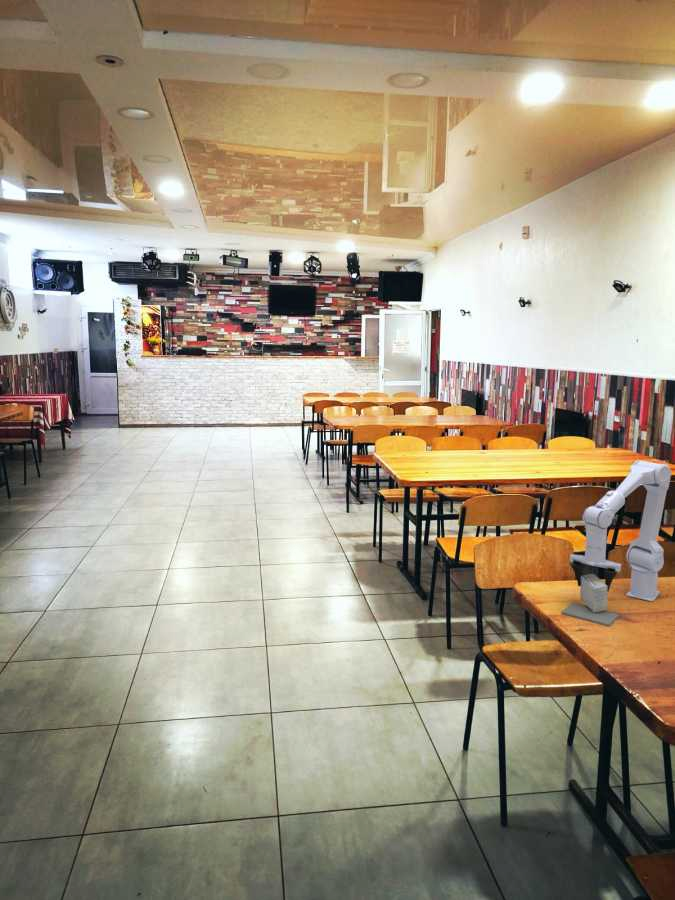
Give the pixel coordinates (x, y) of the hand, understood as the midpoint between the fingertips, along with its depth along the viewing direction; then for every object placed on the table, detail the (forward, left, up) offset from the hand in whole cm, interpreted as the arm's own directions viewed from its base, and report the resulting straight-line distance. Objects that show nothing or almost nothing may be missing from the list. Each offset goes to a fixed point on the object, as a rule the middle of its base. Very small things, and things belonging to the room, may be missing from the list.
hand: (593, 588), depth 184 cm
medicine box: (+1, 0, -5) cm, 5 cm away
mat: (+5, +1, -6) cm, 9 cm away
